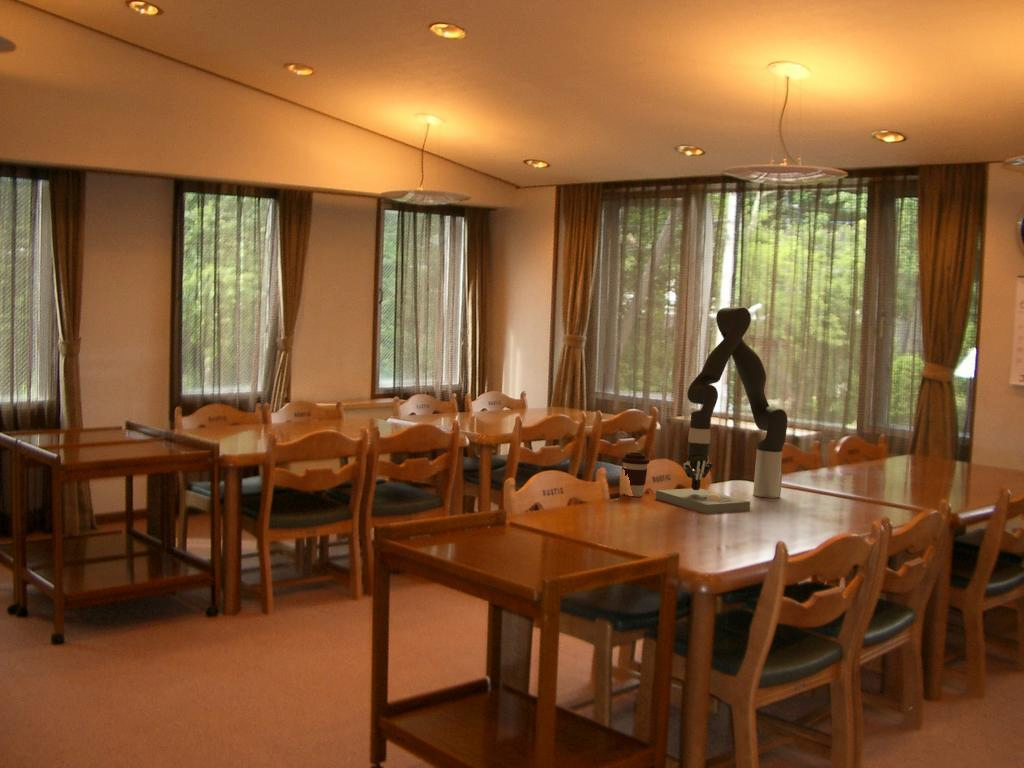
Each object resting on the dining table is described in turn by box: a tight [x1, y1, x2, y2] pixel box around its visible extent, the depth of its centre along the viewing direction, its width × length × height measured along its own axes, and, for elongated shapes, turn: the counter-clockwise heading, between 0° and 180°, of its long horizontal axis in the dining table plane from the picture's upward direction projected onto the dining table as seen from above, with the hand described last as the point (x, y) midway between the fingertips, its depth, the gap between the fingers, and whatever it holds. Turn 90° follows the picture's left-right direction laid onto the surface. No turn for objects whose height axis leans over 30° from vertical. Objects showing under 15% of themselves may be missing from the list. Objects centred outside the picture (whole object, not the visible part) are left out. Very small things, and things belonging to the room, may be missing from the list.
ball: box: [706, 492, 721, 501], centre depth 358 cm, size 5×5×5 cm
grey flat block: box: [655, 487, 751, 514], centre depth 363 cm, size 20×26×3 cm
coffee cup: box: [620, 452, 650, 498], centre depth 373 cm, size 10×10×15 cm
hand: (695, 489), depth 366 cm, fingers closed
